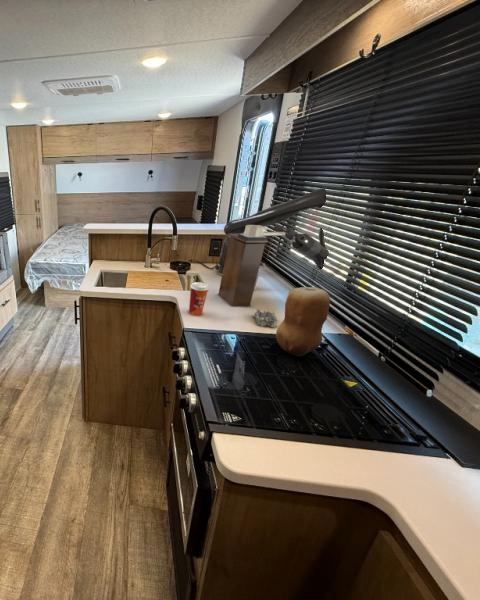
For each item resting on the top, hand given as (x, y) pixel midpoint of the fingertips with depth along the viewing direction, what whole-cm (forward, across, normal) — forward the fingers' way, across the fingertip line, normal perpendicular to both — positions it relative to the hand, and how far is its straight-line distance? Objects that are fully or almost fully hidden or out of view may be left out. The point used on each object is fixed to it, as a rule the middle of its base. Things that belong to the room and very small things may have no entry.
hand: (281, 228), depth 136 cm
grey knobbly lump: (-10, +20, +37) cm, 43 cm away
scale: (+8, 0, +10) cm, 13 cm away
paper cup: (+14, +10, +50) cm, 53 cm away
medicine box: (-21, -20, +31) cm, 42 cm away
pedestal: (-8, -4, +38) cm, 39 cm away
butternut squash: (-6, +44, +39) cm, 59 cm away
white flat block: (+4, 0, +6) cm, 8 cm away
